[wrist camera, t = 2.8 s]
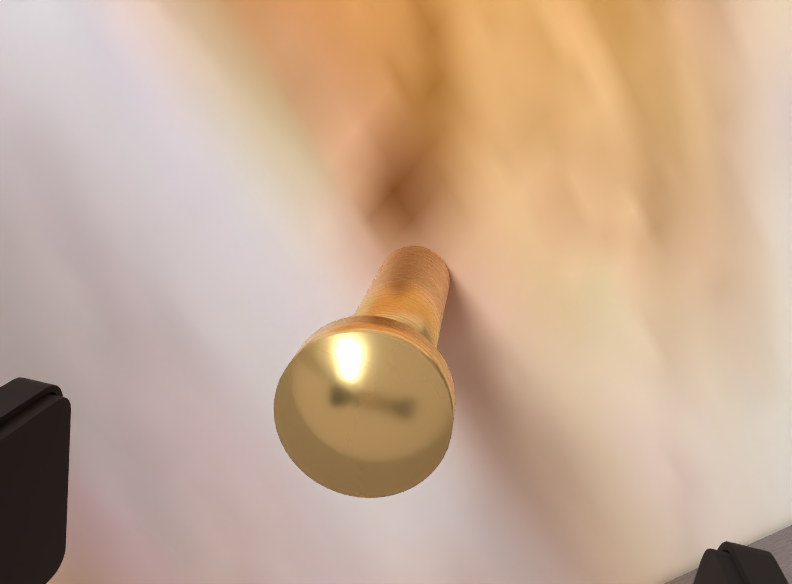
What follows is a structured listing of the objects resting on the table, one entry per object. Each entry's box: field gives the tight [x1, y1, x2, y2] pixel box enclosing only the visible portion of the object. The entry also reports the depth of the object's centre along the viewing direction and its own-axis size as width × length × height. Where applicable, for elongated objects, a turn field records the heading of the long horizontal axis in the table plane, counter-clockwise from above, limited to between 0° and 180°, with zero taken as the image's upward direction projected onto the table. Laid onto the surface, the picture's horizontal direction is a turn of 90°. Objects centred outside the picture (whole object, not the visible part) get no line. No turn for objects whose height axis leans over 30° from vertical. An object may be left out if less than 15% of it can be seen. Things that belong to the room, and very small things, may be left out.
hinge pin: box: [274, 246, 455, 498], centre depth 18 cm, size 3×3×10 cm
